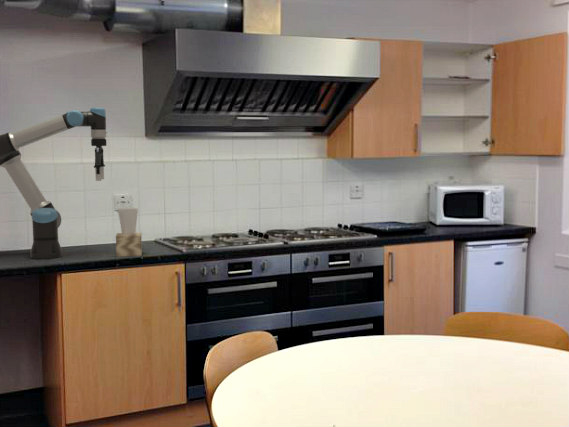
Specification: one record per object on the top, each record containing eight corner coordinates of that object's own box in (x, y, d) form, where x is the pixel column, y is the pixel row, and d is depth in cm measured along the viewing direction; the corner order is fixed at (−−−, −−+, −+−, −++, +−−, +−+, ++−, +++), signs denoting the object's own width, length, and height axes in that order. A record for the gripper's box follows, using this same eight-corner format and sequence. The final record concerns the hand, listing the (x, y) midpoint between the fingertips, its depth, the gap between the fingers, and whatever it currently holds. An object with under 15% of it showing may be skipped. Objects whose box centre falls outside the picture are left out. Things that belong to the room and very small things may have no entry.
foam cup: (138, 232, 368) (138, 207, 367) (137, 235, 359) (137, 208, 358) (119, 233, 367) (118, 207, 365) (118, 235, 358) (117, 209, 356)
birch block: (116, 256, 357) (115, 236, 356) (117, 252, 369) (117, 233, 368) (141, 255, 359) (140, 235, 358) (141, 252, 371) (141, 232, 370)
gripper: (103, 138, 359) (105, 181, 361) (108, 138, 384) (109, 178, 386) (88, 138, 358) (89, 181, 360) (93, 138, 383) (95, 178, 385)
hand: (99, 180), depth 373 cm, fingers open, 13 cm apart
